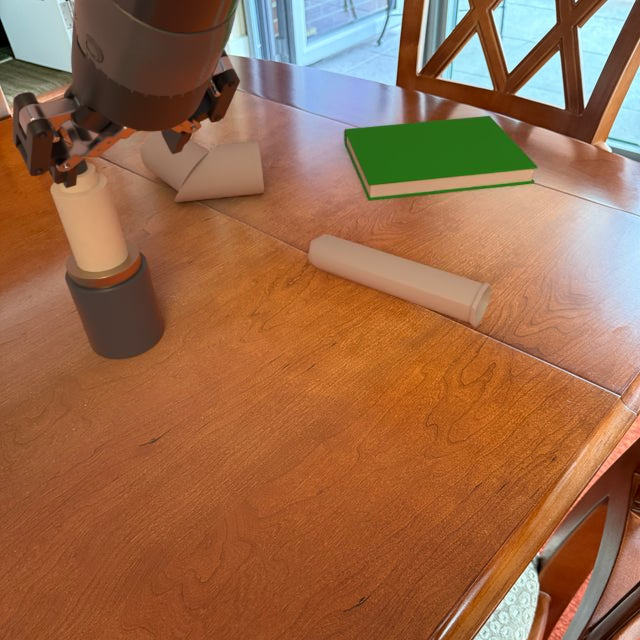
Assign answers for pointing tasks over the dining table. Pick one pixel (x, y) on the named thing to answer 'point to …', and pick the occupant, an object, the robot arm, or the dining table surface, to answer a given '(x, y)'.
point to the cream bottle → (91, 220)
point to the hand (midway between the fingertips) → (119, 158)
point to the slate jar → (117, 306)
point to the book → (436, 157)
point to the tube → (401, 278)
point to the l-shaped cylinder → (205, 168)
